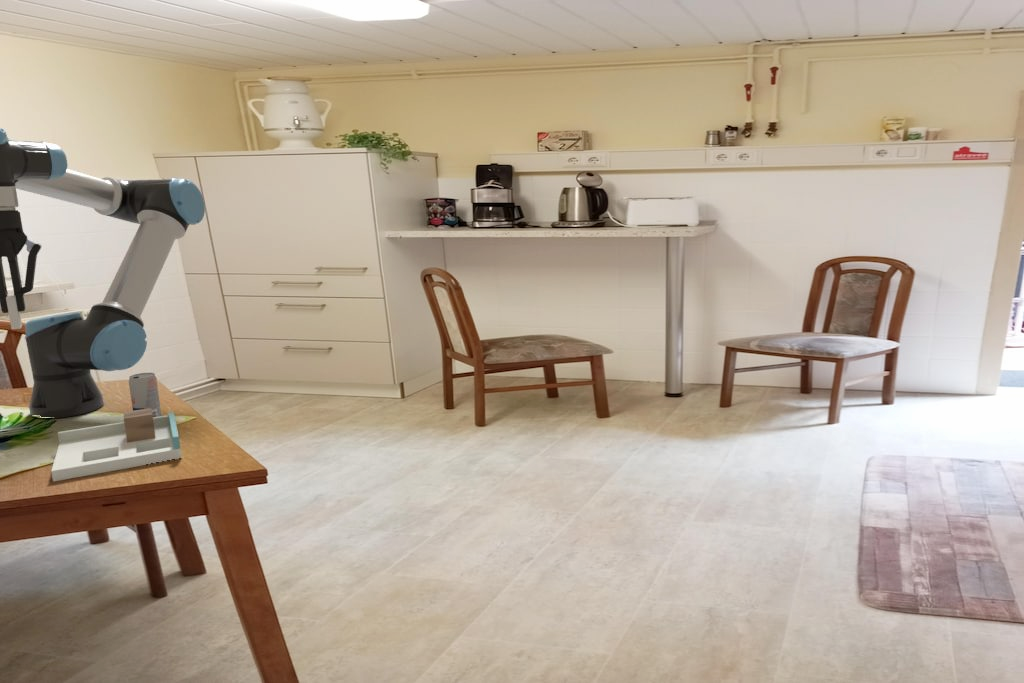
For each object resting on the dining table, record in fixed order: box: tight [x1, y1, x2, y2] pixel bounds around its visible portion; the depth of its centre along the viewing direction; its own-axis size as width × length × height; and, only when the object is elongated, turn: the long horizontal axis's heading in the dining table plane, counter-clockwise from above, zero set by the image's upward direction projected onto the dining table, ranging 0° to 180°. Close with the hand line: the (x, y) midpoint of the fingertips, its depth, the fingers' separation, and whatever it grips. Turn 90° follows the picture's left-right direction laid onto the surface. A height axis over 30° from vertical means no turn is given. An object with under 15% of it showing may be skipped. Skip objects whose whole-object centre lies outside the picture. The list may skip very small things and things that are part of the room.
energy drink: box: [128, 372, 163, 417], centre depth 151 cm, size 5×5×12 cm
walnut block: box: [123, 408, 155, 443], centre depth 141 cm, size 5×5×5 cm
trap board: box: [51, 411, 182, 483], centre depth 137 cm, size 18×21×4 cm
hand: (16, 328), depth 140 cm, fingers closed
